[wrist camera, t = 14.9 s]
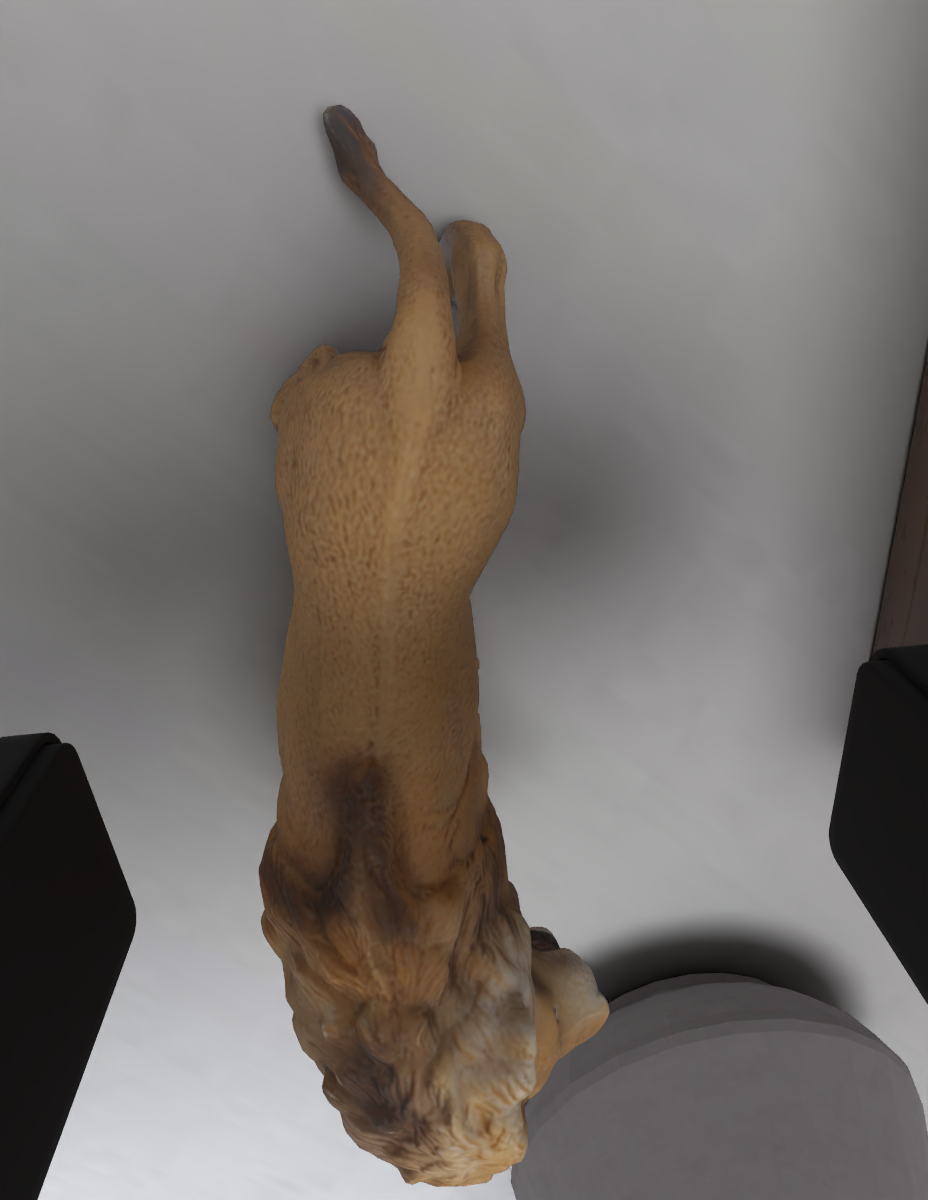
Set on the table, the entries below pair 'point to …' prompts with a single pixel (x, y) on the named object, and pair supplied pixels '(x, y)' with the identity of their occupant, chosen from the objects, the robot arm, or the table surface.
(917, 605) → the chest
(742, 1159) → the coffee pot
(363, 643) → the lion figurine
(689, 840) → the table surface
